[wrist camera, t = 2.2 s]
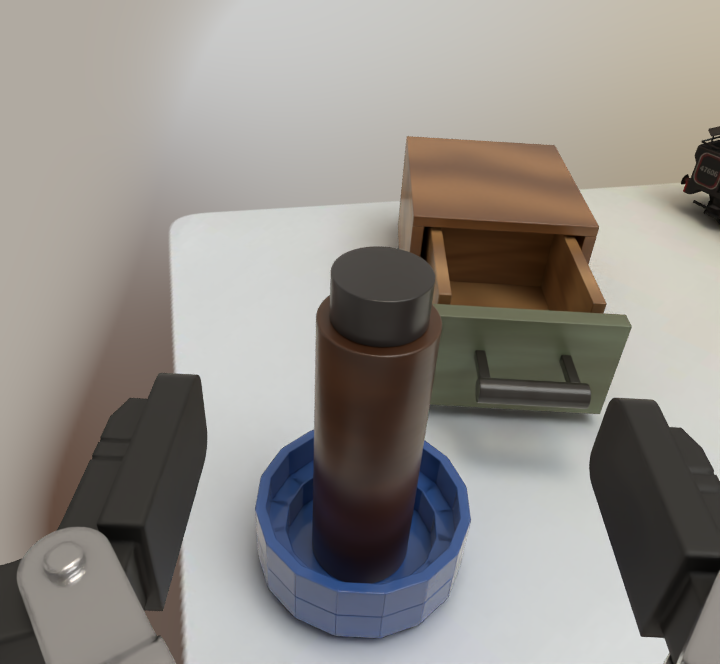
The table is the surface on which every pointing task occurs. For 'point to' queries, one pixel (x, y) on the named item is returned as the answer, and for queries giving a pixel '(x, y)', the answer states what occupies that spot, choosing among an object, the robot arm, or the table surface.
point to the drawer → (520, 322)
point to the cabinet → (489, 191)
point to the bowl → (359, 600)
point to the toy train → (707, 174)
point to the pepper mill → (371, 409)
